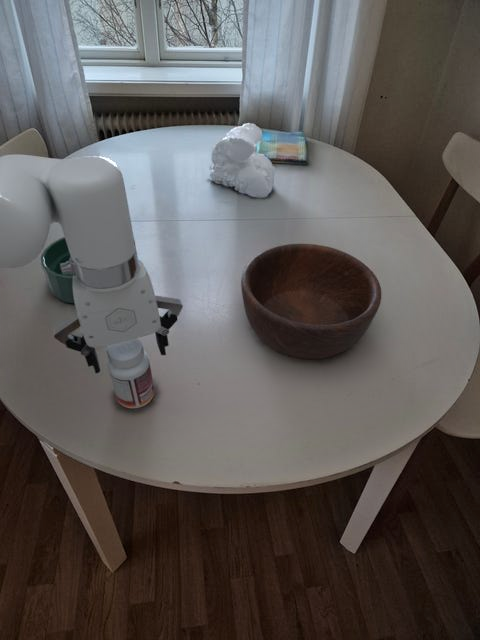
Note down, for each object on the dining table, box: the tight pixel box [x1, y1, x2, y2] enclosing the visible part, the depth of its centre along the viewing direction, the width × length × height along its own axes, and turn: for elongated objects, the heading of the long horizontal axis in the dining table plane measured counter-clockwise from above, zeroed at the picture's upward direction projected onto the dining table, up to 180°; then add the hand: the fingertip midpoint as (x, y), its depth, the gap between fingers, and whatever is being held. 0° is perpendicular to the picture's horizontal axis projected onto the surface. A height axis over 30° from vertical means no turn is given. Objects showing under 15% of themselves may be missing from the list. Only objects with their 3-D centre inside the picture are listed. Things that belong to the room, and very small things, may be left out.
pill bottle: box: [106, 338, 155, 409], centre depth 66 cm, size 6×6×11 cm
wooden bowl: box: [240, 243, 382, 360], centre depth 80 cm, size 25×25×10 cm
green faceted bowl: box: [40, 236, 75, 305], centre depth 89 cm, size 16×16×7 cm
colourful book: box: [256, 129, 309, 166], centre depth 145 cm, size 17×23×2 cm
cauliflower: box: [209, 122, 276, 199], centre depth 122 cm, size 19×20×20 cm
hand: (129, 357), depth 64 cm, fingers open, 9 cm apart
